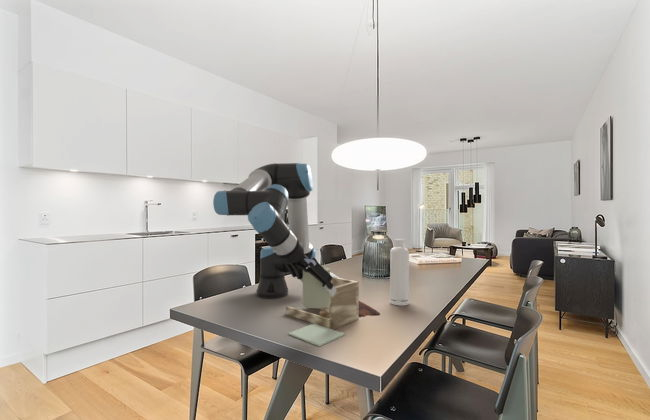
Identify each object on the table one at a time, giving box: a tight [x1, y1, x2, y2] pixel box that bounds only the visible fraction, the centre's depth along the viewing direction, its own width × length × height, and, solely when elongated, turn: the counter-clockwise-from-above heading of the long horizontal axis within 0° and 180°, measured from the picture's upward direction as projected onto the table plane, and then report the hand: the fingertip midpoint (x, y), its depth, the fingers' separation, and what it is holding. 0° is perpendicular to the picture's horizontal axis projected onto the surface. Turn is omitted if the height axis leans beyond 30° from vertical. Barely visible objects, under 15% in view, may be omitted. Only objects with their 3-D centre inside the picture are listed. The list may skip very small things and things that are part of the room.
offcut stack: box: [319, 306, 329, 318], centre depth 120 cm, size 7×10×6 cm
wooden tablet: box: [359, 300, 381, 318], centre depth 138 cm, size 26×2×10 cm
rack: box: [285, 277, 360, 330], centre depth 125 cm, size 24×15×14 cm, turn 48°
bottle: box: [389, 238, 410, 307], centre depth 143 cm, size 8×8×28 cm
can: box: [301, 266, 331, 309], centre depth 106 cm, size 9×9×12 cm
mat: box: [288, 323, 345, 347], centre depth 107 cm, size 14×12×1 cm
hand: (323, 290), depth 109 cm, fingers closed on can, 9 cm apart
